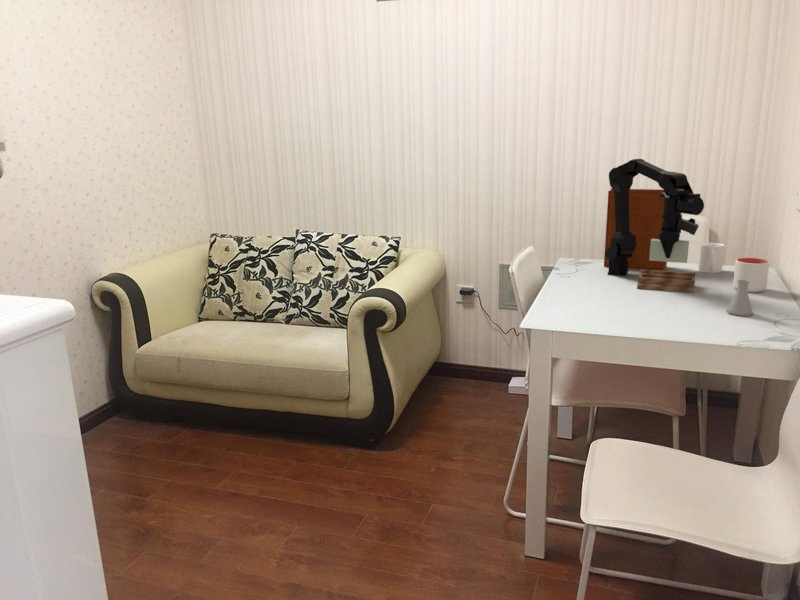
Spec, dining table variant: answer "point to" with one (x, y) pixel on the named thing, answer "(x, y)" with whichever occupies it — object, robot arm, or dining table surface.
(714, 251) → the mug
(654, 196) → the book
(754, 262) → the cup
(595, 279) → the dining table surface
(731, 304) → the flask
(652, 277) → the box
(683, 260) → the pale green box
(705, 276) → the dining table surface
